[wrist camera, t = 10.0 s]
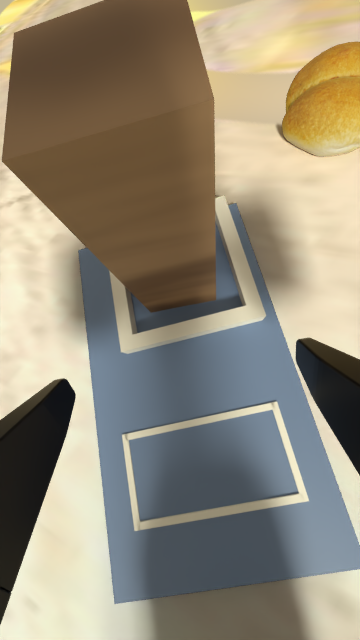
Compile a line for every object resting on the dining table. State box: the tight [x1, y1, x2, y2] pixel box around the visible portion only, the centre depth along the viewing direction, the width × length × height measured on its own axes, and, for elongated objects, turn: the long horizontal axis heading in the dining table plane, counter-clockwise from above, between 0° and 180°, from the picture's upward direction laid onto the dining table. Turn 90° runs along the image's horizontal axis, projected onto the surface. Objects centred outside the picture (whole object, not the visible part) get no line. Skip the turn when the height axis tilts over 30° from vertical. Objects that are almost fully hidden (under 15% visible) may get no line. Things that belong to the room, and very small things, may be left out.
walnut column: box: [2, 0, 216, 313], centre depth 12 cm, size 5×5×12 cm
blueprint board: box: [78, 195, 360, 604], centre depth 16 cm, size 24×14×2 cm, turn 13°
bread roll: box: [282, 42, 360, 157], centre depth 18 cm, size 8×9×4 cm
